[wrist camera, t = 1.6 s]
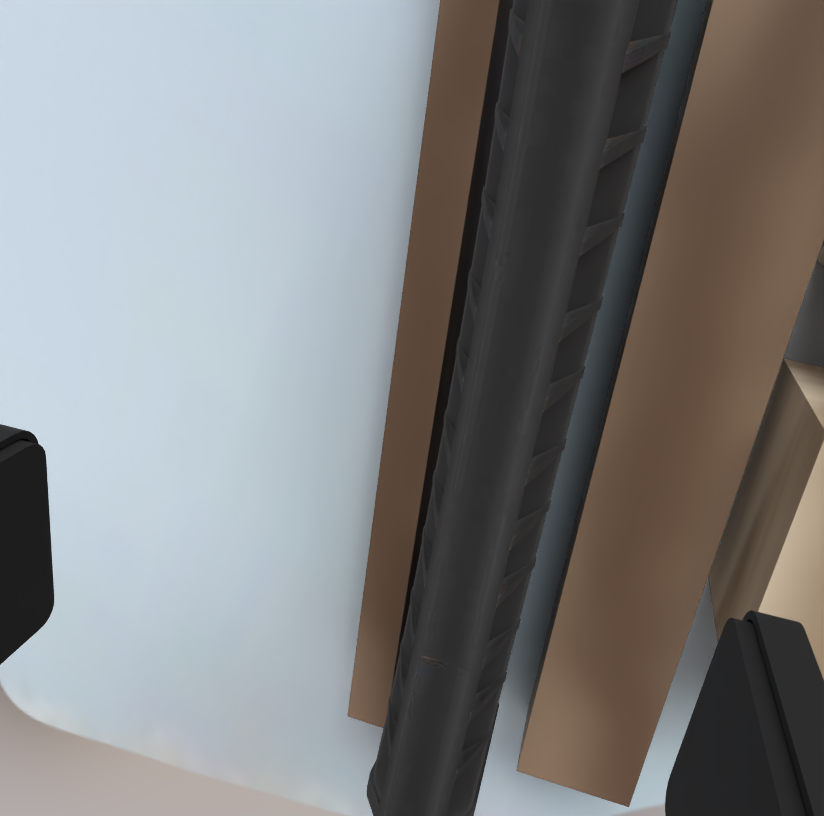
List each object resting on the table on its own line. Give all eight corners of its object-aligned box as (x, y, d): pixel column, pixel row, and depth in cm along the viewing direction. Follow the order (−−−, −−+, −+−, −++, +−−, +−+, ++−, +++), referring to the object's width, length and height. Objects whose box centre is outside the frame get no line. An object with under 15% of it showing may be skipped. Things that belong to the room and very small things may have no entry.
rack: (1363, -315, 15) (1515, -405, 13) (822, 802, 28) (841, 875, 25) (514, -340, 19) (494, -415, 16) (372, 664, 32) (347, 716, 29)
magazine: (438, 953, 23) (921, -804, 4) (338, 914, 24) (342, -769, 5) (538, 542, 36) (768, -351, 17) (471, 524, 37) (619, -358, 17)
